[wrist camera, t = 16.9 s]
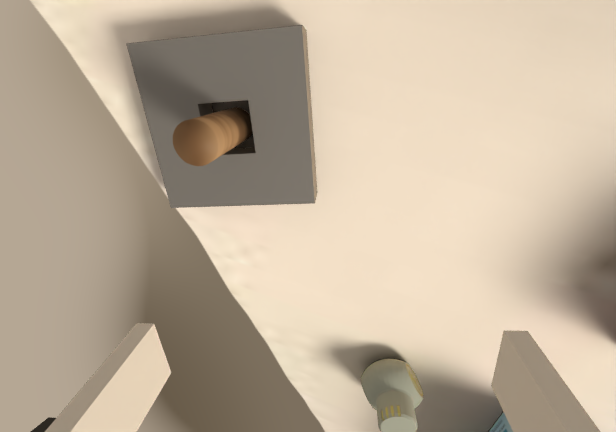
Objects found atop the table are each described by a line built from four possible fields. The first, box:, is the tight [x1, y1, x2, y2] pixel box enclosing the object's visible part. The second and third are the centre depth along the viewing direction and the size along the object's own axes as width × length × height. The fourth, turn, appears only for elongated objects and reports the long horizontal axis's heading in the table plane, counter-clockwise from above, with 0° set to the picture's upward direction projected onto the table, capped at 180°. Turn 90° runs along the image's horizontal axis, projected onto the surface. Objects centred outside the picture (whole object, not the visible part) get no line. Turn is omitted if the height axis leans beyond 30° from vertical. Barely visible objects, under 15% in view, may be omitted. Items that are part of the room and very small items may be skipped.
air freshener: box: [361, 359, 424, 432], centre depth 52 cm, size 11×8×10 cm
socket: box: [127, 25, 317, 208], centre depth 40 cm, size 20×20×4 cm
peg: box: [173, 107, 253, 166], centre depth 36 cm, size 4×4×13 cm
